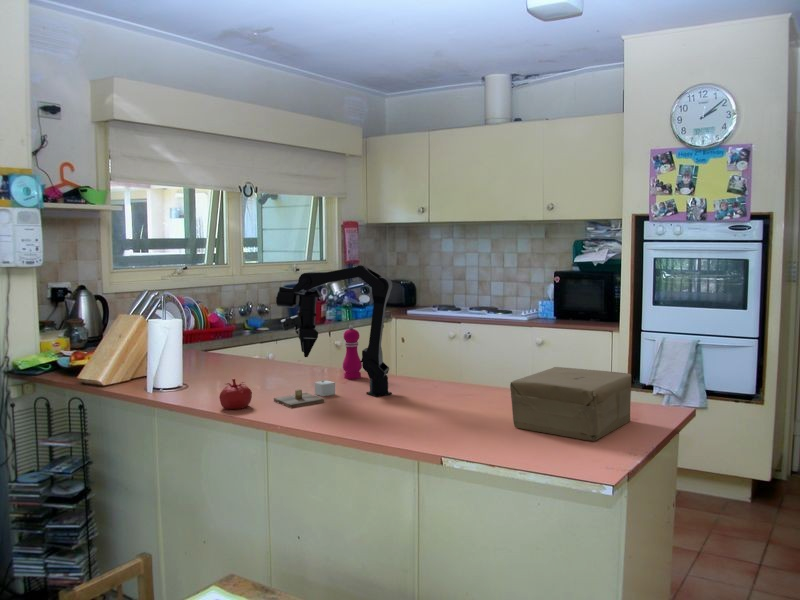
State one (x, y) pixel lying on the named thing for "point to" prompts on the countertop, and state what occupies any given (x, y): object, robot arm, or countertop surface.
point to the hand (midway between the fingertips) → (304, 354)
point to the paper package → (572, 402)
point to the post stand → (299, 399)
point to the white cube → (324, 388)
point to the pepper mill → (351, 354)
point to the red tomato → (235, 396)
